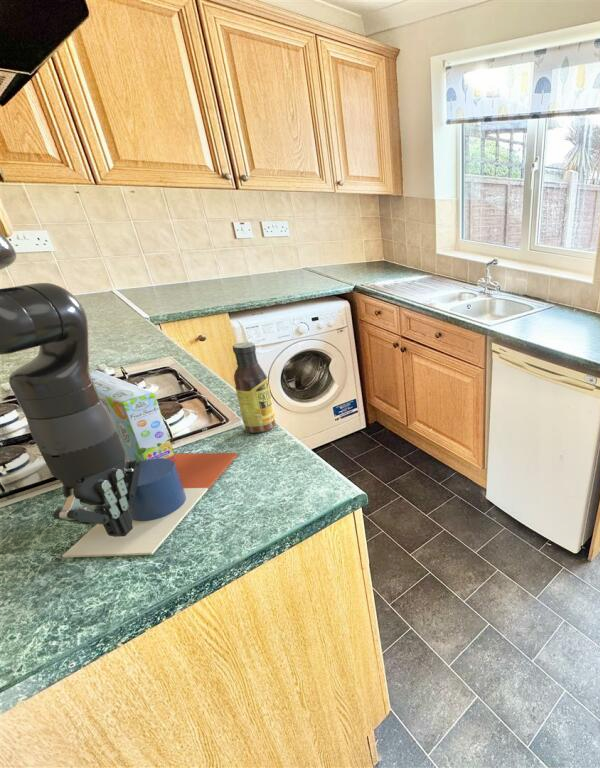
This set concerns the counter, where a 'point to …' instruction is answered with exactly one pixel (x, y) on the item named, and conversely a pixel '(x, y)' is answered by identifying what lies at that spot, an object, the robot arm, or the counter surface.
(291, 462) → the counter surface
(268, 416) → the sauce bottle
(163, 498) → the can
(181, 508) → the mat
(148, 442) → the snack box
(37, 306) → the robot arm
